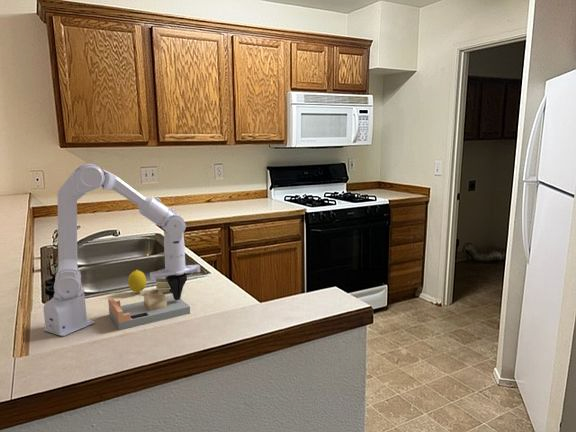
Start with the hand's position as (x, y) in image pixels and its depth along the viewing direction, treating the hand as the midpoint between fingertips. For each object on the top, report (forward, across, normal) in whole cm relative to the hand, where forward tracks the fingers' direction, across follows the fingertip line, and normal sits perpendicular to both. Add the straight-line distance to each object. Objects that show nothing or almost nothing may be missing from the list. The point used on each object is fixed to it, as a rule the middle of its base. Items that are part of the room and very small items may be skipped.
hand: (177, 298), depth 125 cm
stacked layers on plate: (+3, +2, +16) cm, 17 cm away
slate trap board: (+3, -9, 0) cm, 9 cm away
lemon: (+3, -6, +19) cm, 20 cm away
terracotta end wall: (+1, -16, 0) cm, 16 cm away
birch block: (+1, -6, 0) cm, 6 cm away
